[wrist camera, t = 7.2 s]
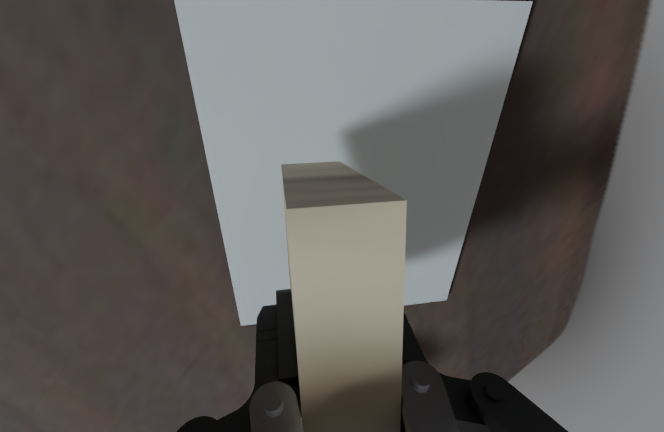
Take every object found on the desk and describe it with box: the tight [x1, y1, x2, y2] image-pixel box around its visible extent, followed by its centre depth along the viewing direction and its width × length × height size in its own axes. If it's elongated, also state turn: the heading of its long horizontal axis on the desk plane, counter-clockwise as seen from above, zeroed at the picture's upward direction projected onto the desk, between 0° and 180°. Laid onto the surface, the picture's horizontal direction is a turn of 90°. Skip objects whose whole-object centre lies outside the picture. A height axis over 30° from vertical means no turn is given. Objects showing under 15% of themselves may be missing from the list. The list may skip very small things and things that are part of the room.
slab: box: [281, 161, 407, 432], centre depth 12 cm, size 10×3×8 cm, turn 179°
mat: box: [174, 0, 533, 326], centre depth 20 cm, size 20×16×1 cm
